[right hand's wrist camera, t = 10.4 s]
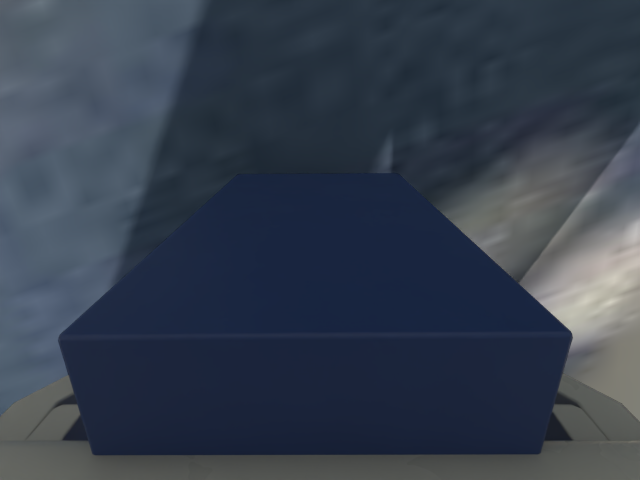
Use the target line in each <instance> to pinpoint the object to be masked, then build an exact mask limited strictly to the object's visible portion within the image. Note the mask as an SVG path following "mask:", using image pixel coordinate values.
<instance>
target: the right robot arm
mask: <svg viewBox="0 0 640 480" xmlns="http://www.w3.org/2000/svg"><path fill="white" fill-rule="evenodd" d="M0 480H640V422H639V421H638V419H636V417H635V416H633V414H632V413H631V412H630V411H629V410H628V409H627V408H626V407H625V406H624V405H623V404H622V403H620V402H618V401H616V400H614V399H612V398H610V397H608V396H606V395H604V394H603V393H601V392H599V391H597V390H595V389H593V388H591V387H589V386H587V385H585V384H583V383H581V382H579V381H577V380H575V379H573V378H572V377H570V376H568V375H566V374H564V373H563V374H562V378H561V381H560V385H559V389H558V392H557V396H556V399H555V403H554V407H553V410H552V414H551V417H550V421H549V425H548V428H547V432H546V435H545V439H544V443H543V446H542V450H541V453H540V454H487V455H93V454H92V452H91V448H90V445H89V442H88V438H87V435H86V432H85V428H84V425H83V422H82V418H81V415H80V412H79V408H78V405H77V402H76V398H75V395H74V392H73V388H72V385H71V382H70V379H69V375H68V376H66V377H64V378H62V379H60V380H58V381H56V382H54V383H52V384H50V385H48V386H46V387H44V388H42V389H40V390H38V391H36V392H34V393H32V394H30V395H28V396H26V397H24V398H22V399H21V400H19V401H17V402H15V403H13V404H12V405H11V406H10V407H9V408H8V409H7V410H6V411H5V412H4V413H3V414H2V415H1V416H0Z"/></svg>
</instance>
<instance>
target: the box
mask: <svg viewBox="0 0 640 480" xmlns="http://www.w3.org/2000/svg"><path fill="white" fill-rule="evenodd" d="M572 338H573V337H572V333H571V331H570V330H569V329H568V328H566V327H565V326H564V325H563V324H562V323H561V322H560V321H559V320H558V319H557V318H556V317H554V316H553V315H552V314H551V313H550V312H549V311H548V310H547V309H546V308H545V307H543V306H542V305H541V304H540V303H539V302H538V301H537V300H536V299H535V298H534V297H533V296H531V295H530V294H529V293H528V292H527V291H526V290H525V289H524V288H523V287H522V286H521V285H519V284H518V283H517V282H516V281H515V280H514V279H513V278H512V277H511V276H510V275H508V274H507V273H506V272H505V271H504V270H503V269H502V268H501V267H500V266H499V265H498V264H496V263H495V262H494V261H493V260H492V259H491V258H490V257H489V256H488V255H487V254H486V253H484V252H483V251H482V250H481V249H480V248H479V247H478V246H477V245H476V244H475V243H473V242H472V241H471V240H470V239H469V238H468V237H467V236H466V235H465V234H464V233H463V232H461V231H460V230H459V229H458V228H457V227H456V226H455V225H454V224H453V223H452V222H451V221H449V220H448V219H447V218H446V217H445V216H444V215H443V214H442V213H441V212H440V211H439V210H437V209H436V208H435V207H434V206H433V205H432V204H431V203H430V202H429V201H428V200H426V199H425V198H424V197H423V196H422V195H421V194H420V193H419V192H418V191H417V190H416V189H414V188H413V187H412V186H411V185H410V184H409V183H408V182H407V181H406V180H405V179H404V178H402V177H401V176H400V175H399V174H398V173H347V174H238V175H236V176H235V177H234V178H233V179H232V180H231V181H230V182H229V183H228V184H226V185H225V186H224V187H223V188H222V189H221V190H220V191H219V192H218V193H216V194H215V195H214V196H213V197H212V198H211V199H210V200H209V201H208V202H206V203H205V204H204V205H203V206H202V207H201V208H200V209H199V210H198V211H196V212H195V213H194V214H193V215H192V216H191V217H190V218H189V219H188V220H187V221H185V222H184V223H183V224H182V225H181V226H180V227H179V228H178V229H177V230H175V231H174V232H173V233H172V234H171V235H170V236H169V237H168V238H167V239H165V240H164V241H163V242H162V243H161V244H160V245H159V246H158V247H157V248H155V249H154V250H153V251H152V252H151V253H150V254H149V255H148V256H147V257H145V258H144V259H143V260H142V261H141V262H140V263H139V264H138V265H137V266H136V267H134V268H133V269H132V270H131V271H130V272H129V273H128V274H127V275H126V276H124V277H123V278H122V279H121V280H120V281H119V282H118V283H117V284H116V285H114V286H113V287H112V288H111V289H110V290H109V291H108V292H107V293H106V294H104V295H103V296H102V297H101V298H100V299H99V300H98V301H97V302H96V303H94V304H93V305H92V306H91V307H90V308H89V309H88V310H87V311H86V312H84V313H83V314H82V315H81V316H80V317H79V318H78V319H77V320H76V321H75V322H73V323H72V324H71V325H70V326H69V327H68V328H67V329H66V330H65V331H63V332H62V333H61V334H60V336H59V338H58V342H59V345H60V349H61V352H62V355H63V359H64V362H65V365H66V369H67V372H68V375H69V379H70V382H71V385H72V388H73V392H74V395H75V398H76V402H77V405H78V408H79V412H80V415H81V418H82V422H83V425H84V428H85V432H86V435H87V438H88V442H89V445H90V448H91V452H92V454H93V455H487V454H540V453H541V450H542V446H543V443H544V439H545V435H546V432H547V428H548V425H549V421H550V417H551V414H552V410H553V407H554V403H555V399H556V396H557V392H558V389H559V385H560V381H561V378H562V374H563V371H564V367H565V363H566V360H567V356H568V353H569V349H570V345H571V342H572Z"/></svg>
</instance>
